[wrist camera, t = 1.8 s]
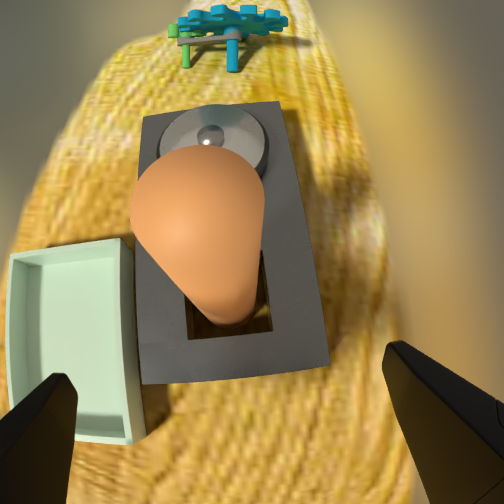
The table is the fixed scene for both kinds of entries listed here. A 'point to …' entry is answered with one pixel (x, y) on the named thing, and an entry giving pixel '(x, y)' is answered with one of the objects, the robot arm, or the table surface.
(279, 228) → the plate
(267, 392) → the table surface
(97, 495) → the table surface
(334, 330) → the table surface
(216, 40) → the gear
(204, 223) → the pin
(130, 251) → the tray
